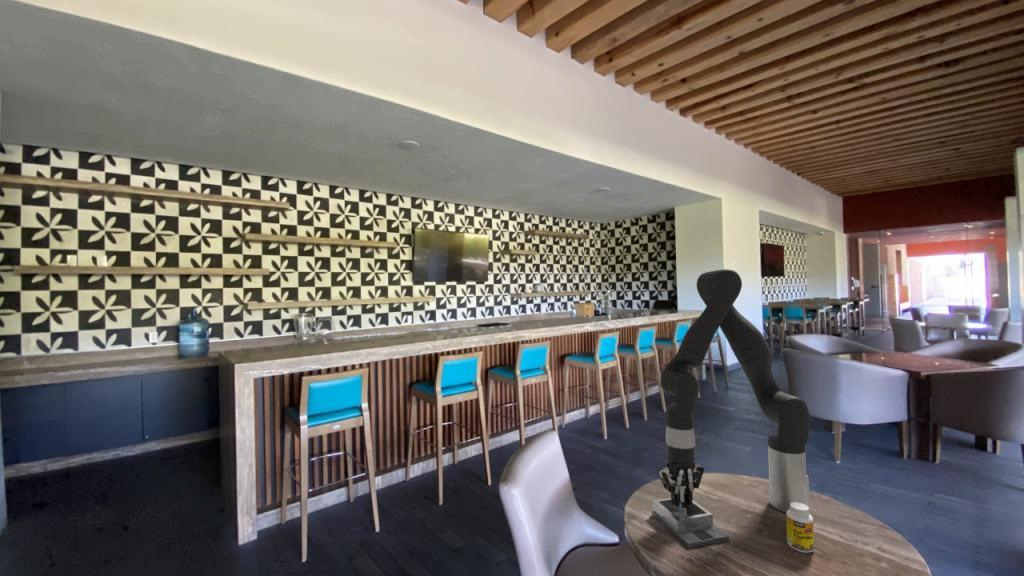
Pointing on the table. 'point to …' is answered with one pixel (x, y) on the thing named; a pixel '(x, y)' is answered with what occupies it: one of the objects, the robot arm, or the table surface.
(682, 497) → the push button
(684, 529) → the gray open box
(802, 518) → the supplement bottle
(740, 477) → the table surface
